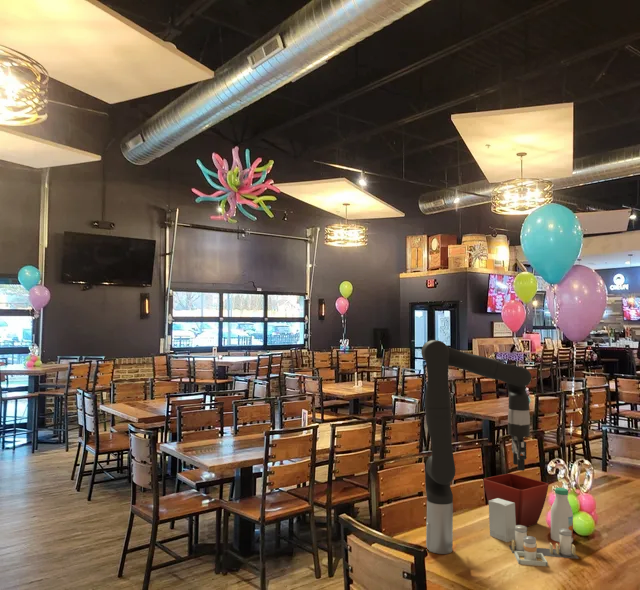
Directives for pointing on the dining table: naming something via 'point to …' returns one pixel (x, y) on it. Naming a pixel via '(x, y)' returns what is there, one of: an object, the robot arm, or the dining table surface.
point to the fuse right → (565, 542)
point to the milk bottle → (561, 514)
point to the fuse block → (550, 551)
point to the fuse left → (520, 537)
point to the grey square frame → (531, 562)
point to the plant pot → (519, 495)
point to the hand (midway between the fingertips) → (518, 467)
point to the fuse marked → (529, 548)
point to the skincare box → (502, 519)
